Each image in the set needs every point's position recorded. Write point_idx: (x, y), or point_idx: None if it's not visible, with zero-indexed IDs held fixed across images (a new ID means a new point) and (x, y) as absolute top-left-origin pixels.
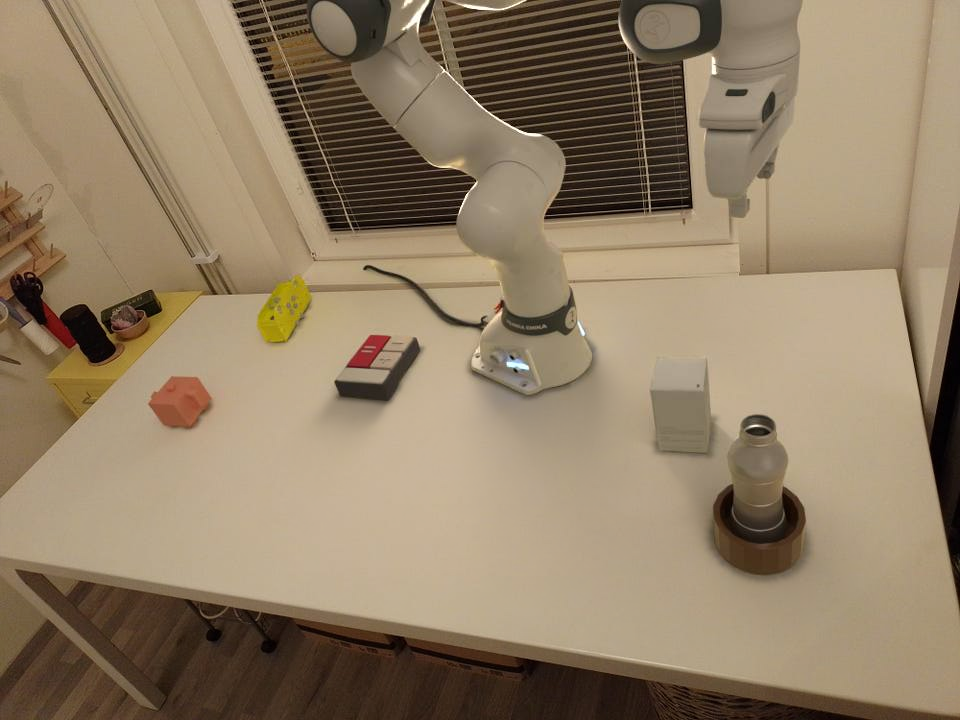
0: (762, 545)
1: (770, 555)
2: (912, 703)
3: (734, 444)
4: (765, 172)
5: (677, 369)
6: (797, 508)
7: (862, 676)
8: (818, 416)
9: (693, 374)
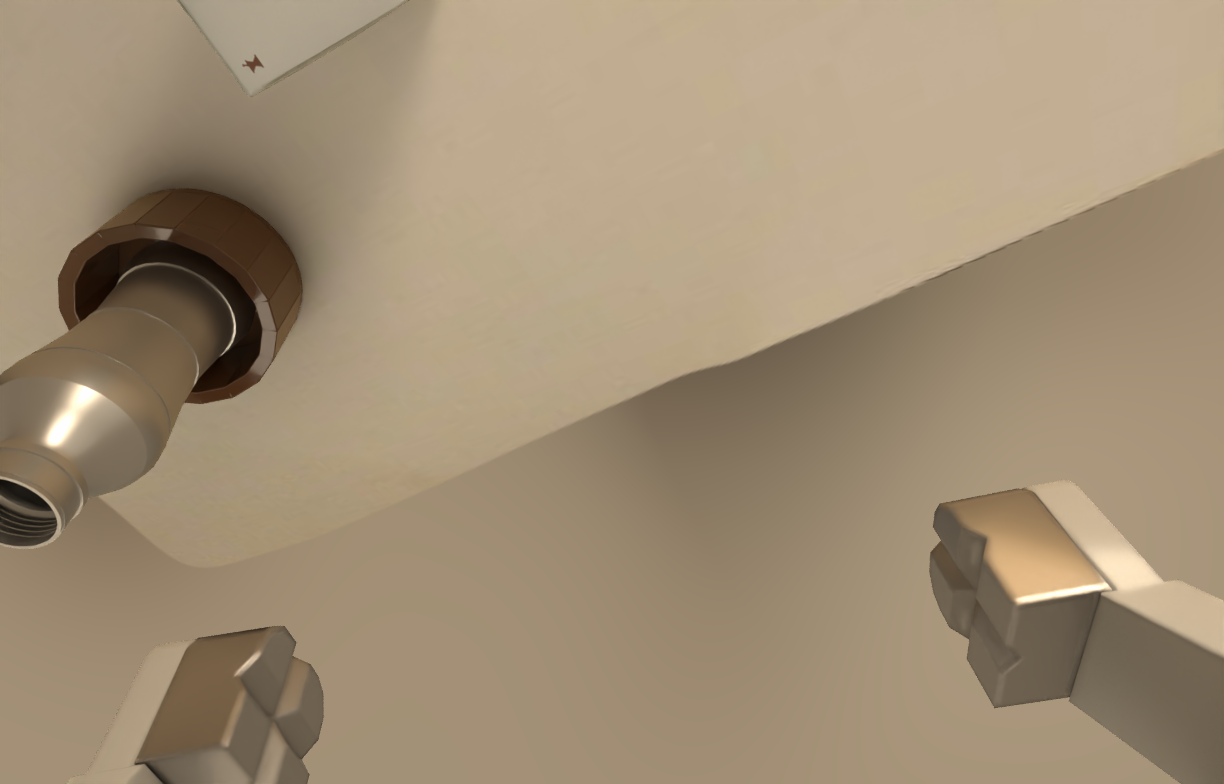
0: None
1: None
2: (159, 547)
3: (4, 406)
4: (970, 598)
5: None
6: (246, 373)
7: (134, 498)
8: (610, 215)
9: (289, 11)
